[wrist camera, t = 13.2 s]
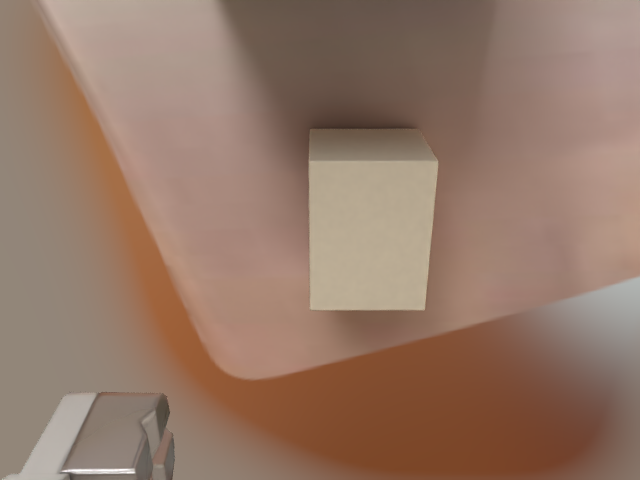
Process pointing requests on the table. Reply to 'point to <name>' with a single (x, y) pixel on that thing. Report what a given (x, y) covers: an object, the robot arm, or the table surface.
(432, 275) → the table surface
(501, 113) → the table surface
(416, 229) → the cream box
